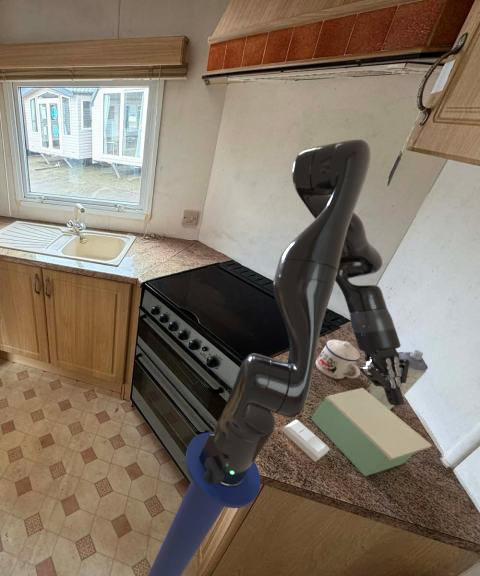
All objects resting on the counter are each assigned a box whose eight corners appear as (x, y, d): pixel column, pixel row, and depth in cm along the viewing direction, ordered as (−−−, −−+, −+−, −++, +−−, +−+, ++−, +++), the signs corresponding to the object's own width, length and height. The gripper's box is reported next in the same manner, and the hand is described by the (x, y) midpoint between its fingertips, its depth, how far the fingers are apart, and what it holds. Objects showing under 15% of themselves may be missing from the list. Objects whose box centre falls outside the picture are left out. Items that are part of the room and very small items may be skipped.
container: (402, 463, 76) (425, 443, 71) (364, 476, 72) (386, 456, 68) (345, 409, 88) (361, 389, 83) (310, 418, 85) (325, 398, 80)
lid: (430, 447, 70) (432, 445, 70) (390, 460, 67) (392, 458, 67) (361, 389, 83) (362, 387, 83) (325, 397, 80) (326, 395, 80)
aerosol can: (384, 395, 94) (427, 347, 83) (395, 414, 88) (442, 365, 77) (359, 389, 95) (397, 340, 84) (368, 406, 90) (410, 357, 79)
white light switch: (293, 423, 83) (297, 417, 82) (326, 453, 77) (331, 447, 75) (281, 430, 81) (285, 424, 80) (315, 461, 75) (320, 456, 73)
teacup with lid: (307, 360, 104) (323, 334, 98) (329, 357, 106) (346, 332, 100) (337, 388, 95) (357, 362, 88) (361, 385, 96) (382, 359, 90)
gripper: (376, 327, 79) (398, 397, 76) (337, 333, 75) (358, 407, 72) (411, 324, 72) (437, 401, 68) (370, 331, 68) (395, 413, 65)
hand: (396, 404), depth 70 cm, fingers closed
